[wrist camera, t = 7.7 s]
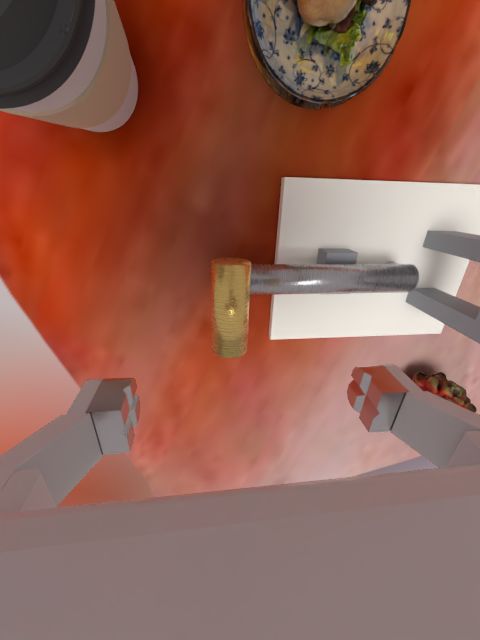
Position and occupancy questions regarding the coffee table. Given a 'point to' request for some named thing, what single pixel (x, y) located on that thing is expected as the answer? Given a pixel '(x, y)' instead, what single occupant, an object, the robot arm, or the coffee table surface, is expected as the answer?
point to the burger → (322, 45)
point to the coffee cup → (66, 63)
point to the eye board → (378, 255)
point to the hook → (289, 290)
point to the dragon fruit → (443, 389)
